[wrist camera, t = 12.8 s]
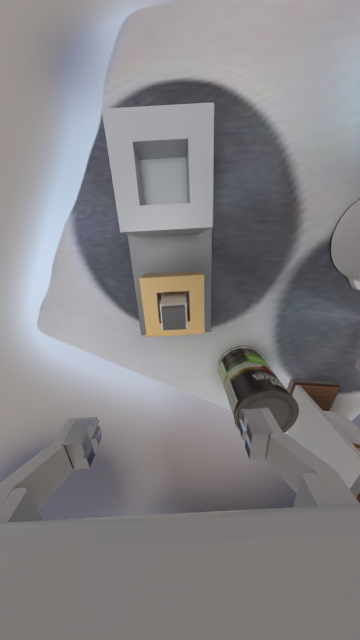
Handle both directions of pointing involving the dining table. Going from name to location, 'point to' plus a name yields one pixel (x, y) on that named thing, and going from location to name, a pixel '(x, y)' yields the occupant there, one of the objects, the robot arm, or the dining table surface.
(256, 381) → the coffee can
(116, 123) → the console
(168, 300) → the plug
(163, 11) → the dining table surface
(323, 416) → the striped beige pillar
